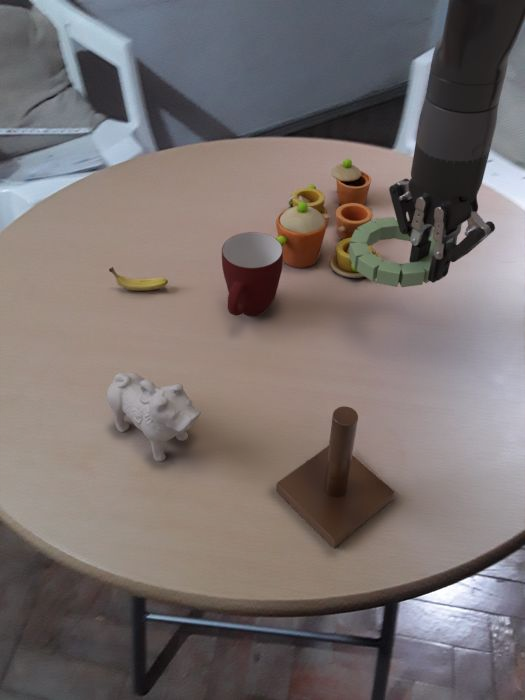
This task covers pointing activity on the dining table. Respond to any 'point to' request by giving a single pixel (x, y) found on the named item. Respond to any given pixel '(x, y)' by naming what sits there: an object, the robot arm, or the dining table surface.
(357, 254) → the ring
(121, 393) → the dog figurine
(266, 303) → the mug
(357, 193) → the toy tea set
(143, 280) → the banana
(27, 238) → the dining table surface
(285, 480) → the holder
